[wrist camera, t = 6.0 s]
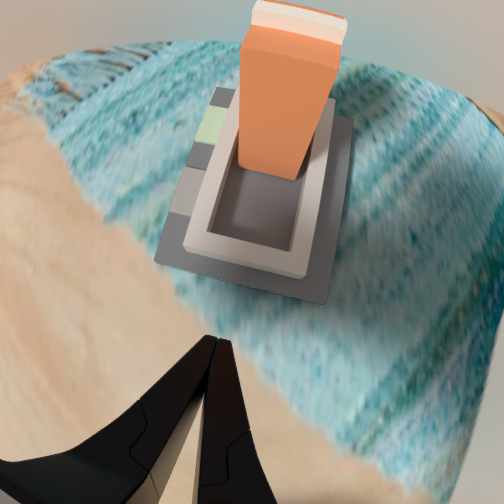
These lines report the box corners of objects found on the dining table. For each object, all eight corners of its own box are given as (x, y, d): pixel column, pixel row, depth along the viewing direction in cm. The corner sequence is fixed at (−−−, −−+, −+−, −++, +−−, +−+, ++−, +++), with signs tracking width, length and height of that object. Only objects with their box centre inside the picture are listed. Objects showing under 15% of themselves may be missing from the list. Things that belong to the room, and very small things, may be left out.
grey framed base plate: (321, 304, 18) (333, 302, 16) (157, 263, 18) (146, 255, 16) (350, 125, 21) (360, 107, 18) (217, 93, 21) (216, 73, 19)
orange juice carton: (294, 180, 18) (344, 54, 8) (238, 167, 18) (241, 30, 8) (305, 129, 19) (348, 3, 9) (253, 116, 19) (265, -15, 9)
